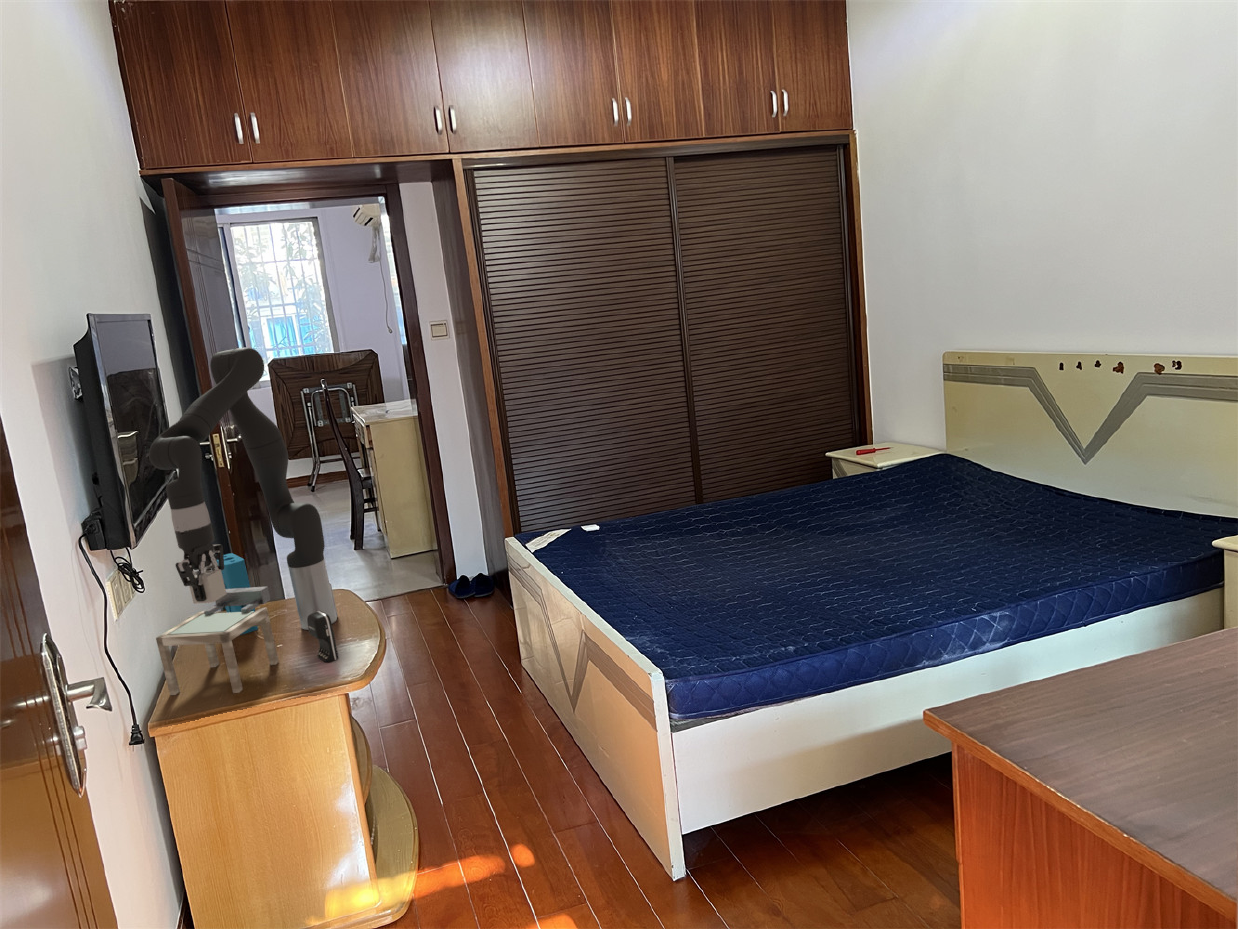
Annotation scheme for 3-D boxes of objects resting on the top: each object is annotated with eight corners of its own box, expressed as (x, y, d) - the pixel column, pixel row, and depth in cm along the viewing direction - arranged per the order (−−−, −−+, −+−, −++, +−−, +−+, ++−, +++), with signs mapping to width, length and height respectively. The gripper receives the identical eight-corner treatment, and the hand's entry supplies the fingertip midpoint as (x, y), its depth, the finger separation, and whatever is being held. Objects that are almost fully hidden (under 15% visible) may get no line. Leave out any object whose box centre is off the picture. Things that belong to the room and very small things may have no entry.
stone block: (207, 595, 208) (201, 570, 207) (226, 594, 207) (220, 569, 206) (193, 603, 204) (187, 578, 202) (213, 602, 203) (207, 577, 201)
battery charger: (313, 658, 217) (303, 613, 215) (328, 652, 220) (319, 608, 217) (324, 665, 212) (314, 619, 210) (339, 659, 214) (330, 614, 212)
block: (261, 630, 243) (245, 559, 239) (242, 637, 240) (225, 565, 236) (247, 621, 252) (231, 552, 248) (229, 627, 249) (212, 558, 245)
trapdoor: (223, 606, 224) (219, 589, 224) (273, 603, 221) (269, 586, 220) (170, 638, 206) (165, 620, 205) (224, 635, 203) (219, 617, 202)
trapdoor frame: (214, 664, 222) (201, 611, 219) (278, 662, 218) (266, 607, 215) (170, 695, 207) (155, 638, 204) (239, 692, 203) (225, 634, 200)
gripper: (197, 517, 210) (214, 586, 213) (156, 535, 196) (174, 609, 199) (226, 514, 208) (242, 584, 212) (186, 533, 194) (204, 607, 198)
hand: (209, 595), depth 205 cm, fingers closed on stone block, 5 cm apart
